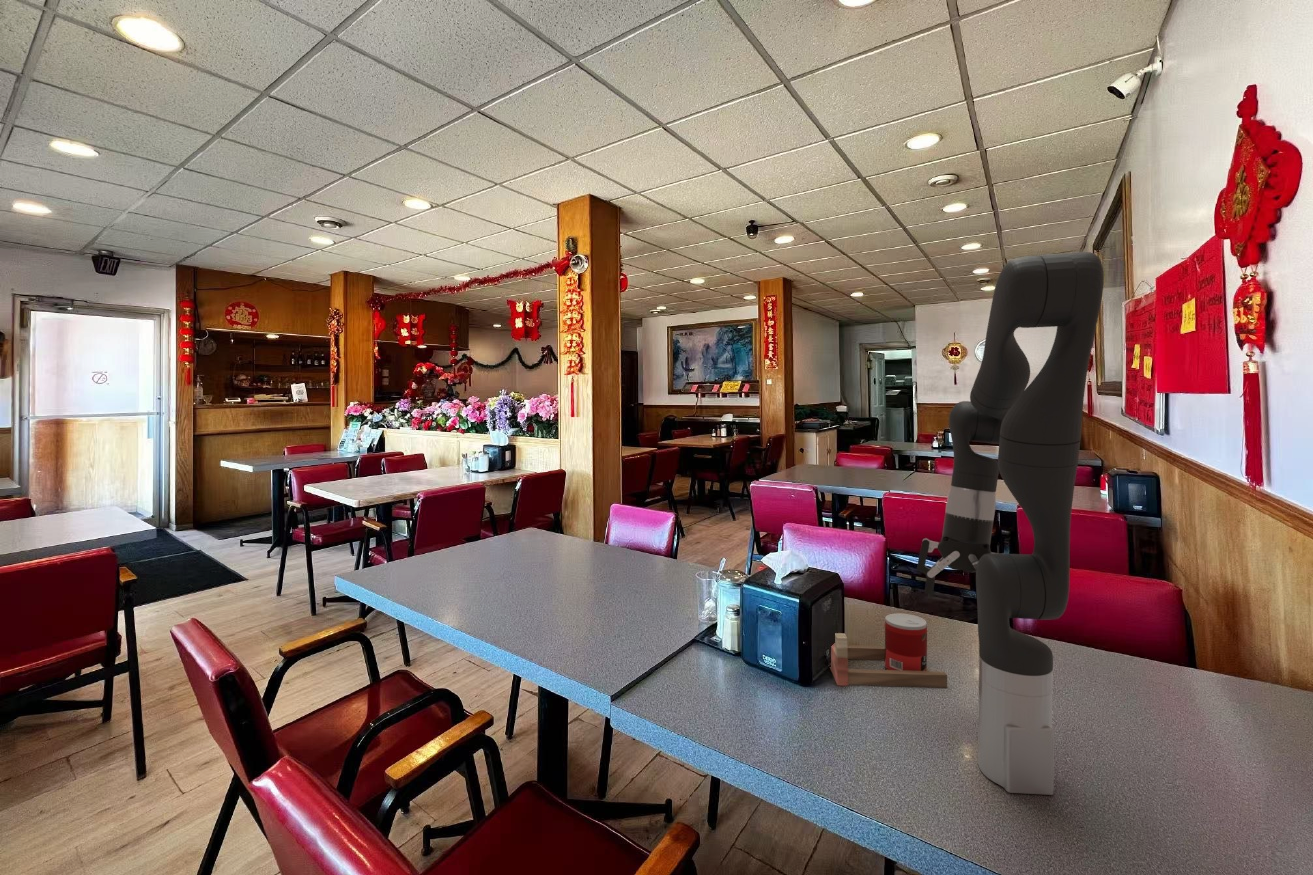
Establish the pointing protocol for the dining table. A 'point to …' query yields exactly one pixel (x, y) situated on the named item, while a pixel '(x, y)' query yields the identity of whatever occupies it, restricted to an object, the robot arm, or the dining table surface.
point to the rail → (876, 677)
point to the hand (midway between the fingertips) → (956, 603)
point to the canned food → (905, 642)
